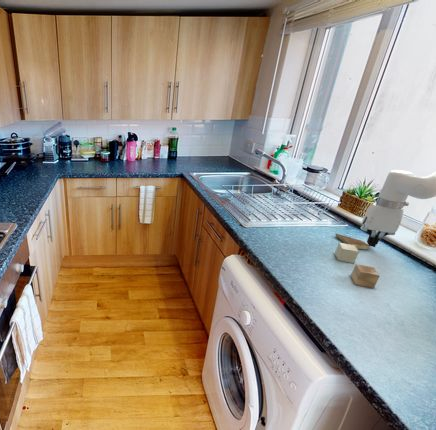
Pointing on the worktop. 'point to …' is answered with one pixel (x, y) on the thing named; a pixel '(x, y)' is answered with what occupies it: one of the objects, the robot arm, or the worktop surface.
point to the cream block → (346, 252)
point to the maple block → (365, 276)
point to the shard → (353, 242)
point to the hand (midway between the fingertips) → (371, 245)
